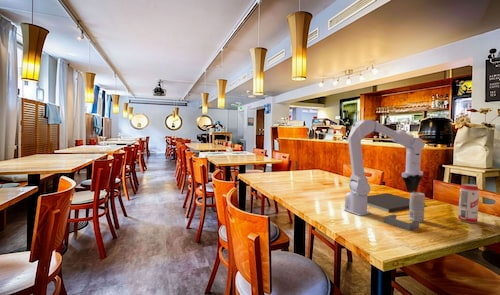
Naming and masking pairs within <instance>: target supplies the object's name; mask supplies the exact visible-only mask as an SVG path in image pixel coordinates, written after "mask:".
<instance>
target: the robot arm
mask: <svg viewBox="0 0 500 295" xmlns="http://www.w3.org/2000/svg"><path fill="white" fill-rule="evenodd" d="M373 132H376V133H379V134H380V135H381V134H382V135H384V136H387V137H389V138H391V141H392V142H394V143H396V144H399V145H400V146H403V147H404V148H405V149H406V150H405V152H406V154H405V171H404V172H401V177H402V180H403V181H404V184H405V188H406V191H407V192H409V193H411V192H417V191H418V188H419V186H420V182H421V181H422V180H423V178H424V177H423V176H424V171H422V170H421V159H422V158H421V157H422V153H423V152H422V151H423V149H424V147H425V143H424V141H423V139H422V138H421V137H415V136H414V135H413V134H408V133H407V132H405V130H403V129H400V130H399V129H398V130H396V131H395V130H394V129H392V128H390V127H388V126H386V125H383V124H381V123H380V122H378V121H376V120H372V119H371V118H369V119H361V120H359V119H358V120H356V121H355V122H354V123H353V124H352V125H351V129H350V132H349V135H348V137H347V141H348V149H349V150H348V151H349V152H348V153H349V157H350V158H349V159H350V160H349V161H350V167H351V168H350V169H351V175H350V176H349V178H350V180H349V183H348V186H349V189H350V190H351V191H348V192H347V193H346V195H345V196H344V197H345V199H344V202H345V203H344V208H343V211H344V212H348V213H352V214H353V215H358V216H359V217H361V216H365V215H369V214H372V212H371V211H370V210H369V211H368V205H367V196H369V193H370V192H371V185H370V184H369V181H368V178H367V176H366V174H365V169H364V160H363V151H362V150H363V149H362V143H361V141H363V139H364V138H365V137H366V136H367V135H369V134H372V133H373Z"/></svg>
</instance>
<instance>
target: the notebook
mask: <svg viewBox="0 0 500 295" xmlns="http://www.w3.org/2000/svg"><path fill="white" fill-rule="evenodd" d="M409 205H410V197H409V198H408V197H404V196H400V195H397V194H392V193H387V192H386V193H380V194H372V195H367V207H371V208H375V209H377V210H381V211H384V212H388V213H392V212H399V211H402V210H403V211H404V210H409ZM425 206H426V204H425V205H424V207H425Z"/></svg>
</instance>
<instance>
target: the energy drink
mask: <svg viewBox="0 0 500 295" xmlns="http://www.w3.org/2000/svg"><path fill="white" fill-rule="evenodd" d="M409 199H410V205H409V209H408V220H409V221H410V222H414V221H418V222H419V224H420V223H424V222H425V206H426V203H425V200H426V196H425V193H423V192H419V191H418V192H417V191H413V192H409ZM424 205H425V206H424Z"/></svg>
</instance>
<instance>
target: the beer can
mask: <svg viewBox="0 0 500 295" xmlns="http://www.w3.org/2000/svg"><path fill="white" fill-rule="evenodd" d="M479 200H480V188H479V187H478V184H472V183H462V184H461V186H460V188H459V198H458V201H459V202H458V217H457V218H458V219H459V220H460V222H462V223H467V224H475V223H477V222H478V218H479V217H478V216H479V215H478V214H479Z"/></svg>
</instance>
